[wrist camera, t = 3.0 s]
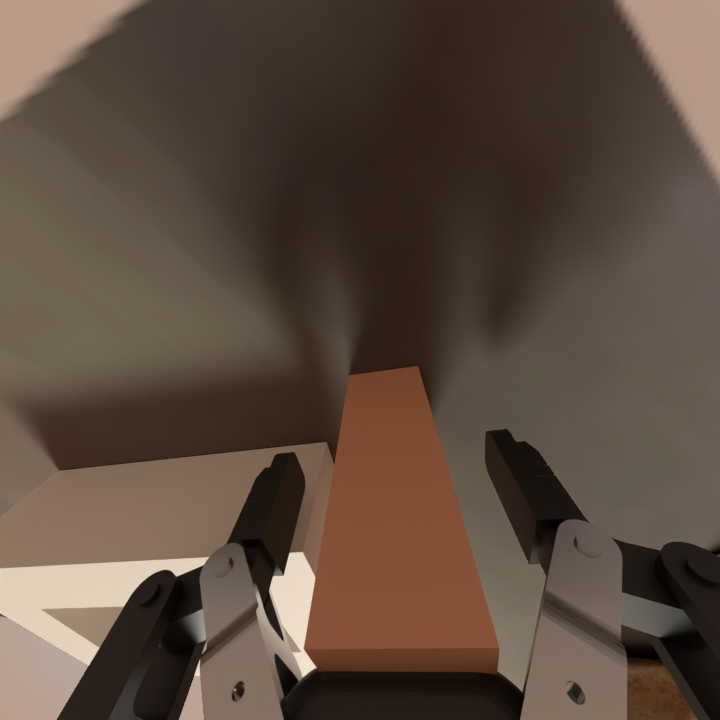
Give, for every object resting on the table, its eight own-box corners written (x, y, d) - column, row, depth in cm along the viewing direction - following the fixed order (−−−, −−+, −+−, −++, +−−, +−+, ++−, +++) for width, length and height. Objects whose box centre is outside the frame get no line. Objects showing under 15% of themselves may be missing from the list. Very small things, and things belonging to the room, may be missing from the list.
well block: (326, 441, 16) (302, 552, 11) (367, 568, 22) (365, 677, 17) (58, 470, 19) (-69, 572, 13) (162, 577, 25) (104, 675, 20)
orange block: (417, 365, 13) (499, 648, 5) (425, 434, 16) (491, 721, 7) (349, 375, 14) (303, 649, 5) (364, 440, 16) (351, 718, 7)
